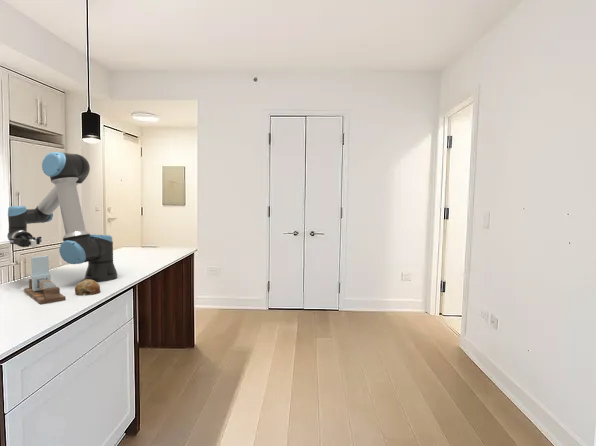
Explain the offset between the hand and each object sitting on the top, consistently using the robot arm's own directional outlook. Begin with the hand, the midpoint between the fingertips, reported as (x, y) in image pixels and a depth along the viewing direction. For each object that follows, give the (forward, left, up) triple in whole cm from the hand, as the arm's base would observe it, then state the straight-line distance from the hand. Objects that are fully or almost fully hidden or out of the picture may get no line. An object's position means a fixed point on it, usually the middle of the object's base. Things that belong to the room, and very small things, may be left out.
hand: (34, 243), depth 178 cm
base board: (-5, +10, -22) cm, 25 cm away
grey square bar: (-5, +10, -18) cm, 21 cm away
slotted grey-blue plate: (-4, +7, -19) cm, 21 cm away
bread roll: (-22, +10, -22) cm, 33 cm away
